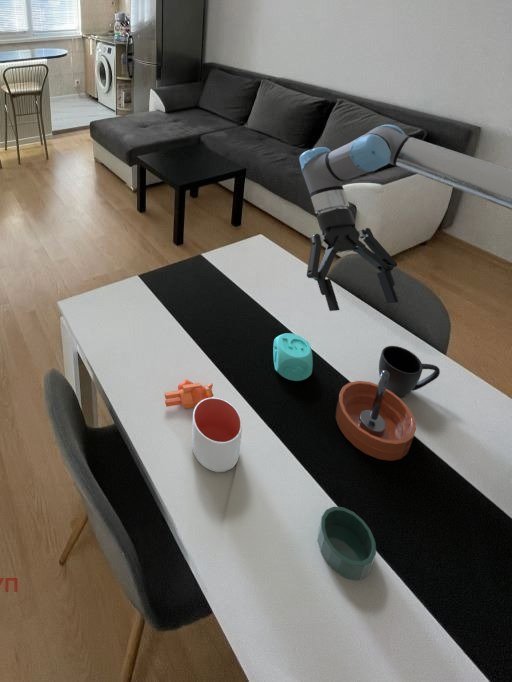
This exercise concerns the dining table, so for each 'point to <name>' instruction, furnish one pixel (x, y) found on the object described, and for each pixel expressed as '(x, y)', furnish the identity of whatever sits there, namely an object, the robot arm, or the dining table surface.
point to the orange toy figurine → (188, 394)
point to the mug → (404, 370)
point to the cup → (216, 434)
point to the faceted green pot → (346, 543)
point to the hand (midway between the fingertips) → (364, 306)
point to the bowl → (392, 411)
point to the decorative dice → (292, 357)
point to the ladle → (375, 410)
